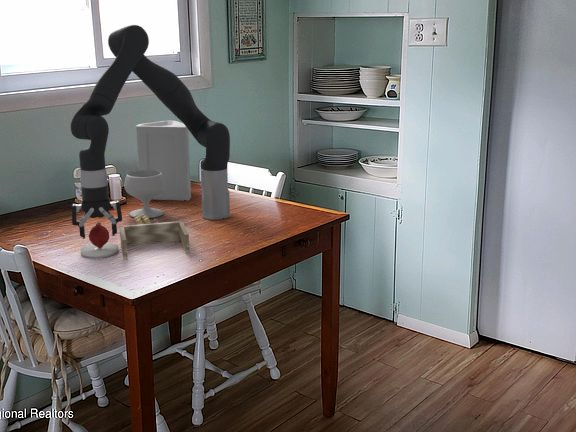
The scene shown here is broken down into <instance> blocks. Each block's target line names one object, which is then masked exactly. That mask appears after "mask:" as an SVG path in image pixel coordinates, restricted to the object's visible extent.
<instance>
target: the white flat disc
mask: <svg viewBox="0 0 576 432" xmlns="http://www.w3.org/2000/svg"><path fill="white" fill-rule="evenodd" d="M119 252H120V251H119V245H118V244H117V243H113V242H109V241H108V242H107V243H106V244H105V245H104V246H103V247H102V248H98V247H96V246H94V245H93V244H92V243H91V242H90V243H87V244H85V245H83V246H82V247H80V255H81V256H82V257H84V258H89V259H104V258H108V257H112V256H114V255H115V256H116V254H118V253H119Z"/></svg>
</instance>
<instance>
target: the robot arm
mask: <svg viewBox="0 0 576 432" xmlns="http://www.w3.org/2000/svg"><path fill="white" fill-rule="evenodd" d="M107 39H108V40H107V44H108V48H109V50H110V51H111V53H112V55H113V56H114V57H115V59H114V60H113V62H112V63H111V64H110V66H109V67H108V68H107V70H105V71H104V72H103V74H102V75H101V77H99V79H98V80H97V82H96V84H95V86H94V88H93V90H92V91H91V93H90V96H89V98H88V99H87V101H86V102H85V103H84V104H83V105H82V106H81V107H80V108H79V109H78V110H77V112H75V114H74V116H73V117H72V119H71V123H70V132H71V134H72V136H73V137H75V139H79V140H85V141H87V140H88V141H90V145H89V147H83V148H82V149H81V150H80V151H79V154H78V155H79V168H80V172H79V173H80V176H79V177H80V178H79V179H80V186H81V187H80V189H81V190H80V191H81V201H82V202H81V203H80V204H76V203H72V204H71V224H72V226H77V227H78V228H79V237H81V238H82V239H86V231H85V223H87V221H88V220H89V218H91V219H96V218H104V217H105V218H106V219H108V220H109V222H110V223H111V233H112V237H115V236H116V235H117V234H118V227H117V224H118V223H119V222H122V221H123V215H122V209H121V202H120V200H119V199H117V200H115V201H110V197H109V184H108V183H109V181H108V174H107V167H106V156H105V152H106V148H107V144H108V143H107V142H108V138H109V137H108V136H109V130H110V129H109V124H108V122H107V120H106V119H105V118H104V117H103V116H107V115H109V114H110V113H111V112H112V110H113V109H114V106H115V104H116V102H117V99H118V98H119V95H120V93H121V91H122V89H123V87H124V85H125V84H126V82H127V80H128V79H129V77H130V75H131V74H132V73H133V74H134V75H135V76H136V77H137V78H138V79H139V80H141V82H143V84H144V85H145V86H147V88H148V89H149V90H150V91H151V92H152V93H153V94H154V96H156V98H158V100H159V101H160V102H161V103H162V104H163V105H164V106H165V107H166V108H167V109H168V110H169V111H170V112H171V113H172V114H173V115H174V116H175V117H176V118H177V119H178V120H180V122H181V123H183V124H184V125H185V126H186V127H187V128H188V132H190V134H191V135H192V136H193V138H194V139H195V140H196V142H197V143H198V144H199V145H200V146H202V147H204V148H205V157H204V158H203V159H201V160H200V163H199V164H200V166H199V167H200V189H201V191H200V192H201V193H200V194H201V215H202V218H203V219H206V220H215V221H216V220H223V218H224V219H226V218H230V217H231V206H230V205H231V198H230V190H229V180H228V179H229V178H228V176H229V175H228V174H229V172H228V163H229V161H230V157H231V156H230V155H231V154H230V149H231V136H230V132H229V129H228V127H227V126H226V125H225V124H223V123H221V122H218V121H214V120H211V119H210V118H209V117H207V116H206V115H205V114H204V113H203V112H202V111H201V110H200V108H198V106H197V104H196V102H195V100H194V97H193V95H192V93H191V91H190V89H189V88H188V87H187V85H185V83H184V82H183V81H182V80H181V79H180V78H179V77H178V76H177V75H176V74H175V73H173V72H172V71H170V70H168V69H167V68H165V67H163V66H160V65H159V64H156V62H153V61H152V60H150V59H149V58H148V57H147V56H146V55H145V54H146V52H147V50H148V48H149V43H150V39H149V35H148V33H147V31H146V30H145V29H144V28H143V27H142V26H140V25H138V24H131V25H127V26H123V27H121V28H119V29H116V30H114V31H112V32H111V33H110V34H109V36H108V38H107ZM111 207H112V208H113V209H114V210H116V217H115V216H113V215H112V213H111V212H110V209H111ZM80 209H81V210H82V211H83V212H84V213H83V215H82V217H81V218H80V220H79V219H77V213H79V212H80Z"/></svg>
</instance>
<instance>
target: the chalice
mask: <svg viewBox="0 0 576 432" xmlns="http://www.w3.org/2000/svg"><path fill="white" fill-rule="evenodd" d="M123 186H124V190H125V191H126V193H127V194H128V195H130V196H132V197H134V198H136V199H138V200H140V202H142V204H143V207H142V208H139V209H135V210H134V209H133V210H132V211H130V212H129V214H128V215H129V216H130V217H131V218H134V217H133V216H134V215H135V214H138V216H139V217H140V218H141V219H142V217H141V214H143V213H145V214H146V215H147V217H148V218H149V219H153V218H157V217H161V216H163V215H164V214H165V213H164V210H163V209H159V208H150V205H149V204H150V201H152V200H153V199H152V198H154V197H156V196H157V195H159V194H160V193H162V192H163V190H164V188H165V180H164V177H163V175H162V173H161V172H160V171H157V170H139V169H136V170H132V171H131V170H130V172H127V174H126V176H125V178H124V185H123Z"/></svg>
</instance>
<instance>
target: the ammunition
mask: <svg viewBox="0 0 576 432" xmlns="http://www.w3.org/2000/svg"><path fill="white" fill-rule="evenodd" d="M141 217H142V218H140V217H139V216H138V214H135V215H134V216H133V217H132V218H133V219H134V221H135V222H136V225H139V224H152V223H159V221H158V219H156V217H154V218H151V219H150V218H148V217H147V215H146V214H145V213H143V214H141Z"/></svg>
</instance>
